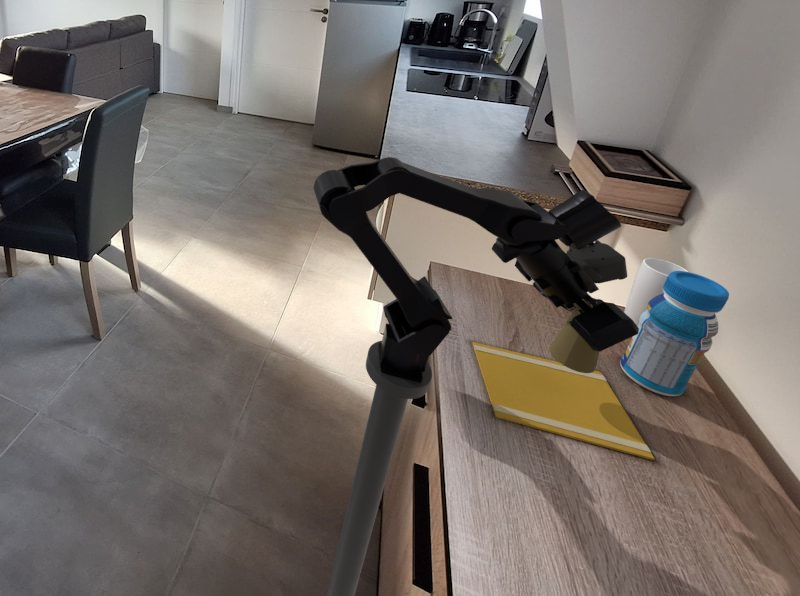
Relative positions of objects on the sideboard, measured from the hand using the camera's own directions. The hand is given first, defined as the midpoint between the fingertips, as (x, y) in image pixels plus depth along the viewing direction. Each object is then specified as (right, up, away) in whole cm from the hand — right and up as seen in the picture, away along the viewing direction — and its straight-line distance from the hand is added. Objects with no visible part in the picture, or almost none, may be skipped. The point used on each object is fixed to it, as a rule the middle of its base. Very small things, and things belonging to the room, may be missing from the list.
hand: (595, 327), depth 71 cm
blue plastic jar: (+16, -12, +7) cm, 21 cm away
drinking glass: (+24, -8, +18) cm, 31 cm away
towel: (-4, -12, +3) cm, 14 cm away
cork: (-2, -6, +2) cm, 7 cm away
